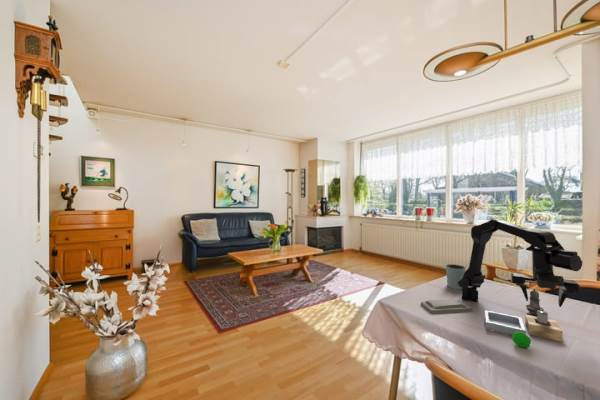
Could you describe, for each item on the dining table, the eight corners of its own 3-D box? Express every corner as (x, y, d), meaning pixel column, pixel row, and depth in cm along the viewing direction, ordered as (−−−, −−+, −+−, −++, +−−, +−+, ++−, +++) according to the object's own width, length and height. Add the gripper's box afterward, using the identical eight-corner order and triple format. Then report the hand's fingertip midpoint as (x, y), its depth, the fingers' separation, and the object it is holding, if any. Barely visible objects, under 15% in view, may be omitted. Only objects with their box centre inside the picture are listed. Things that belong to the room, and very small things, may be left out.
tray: (485, 329, 99) (485, 321, 99) (484, 316, 109) (484, 310, 109) (525, 338, 92) (525, 330, 92) (521, 324, 102) (521, 317, 102)
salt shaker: (547, 319, 106) (547, 291, 105) (531, 318, 107) (531, 291, 107) (537, 312, 111) (537, 286, 111) (522, 312, 112) (522, 286, 112)
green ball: (521, 342, 90) (521, 329, 90) (535, 350, 85) (534, 336, 85) (508, 342, 90) (508, 329, 90) (521, 351, 85) (521, 337, 85)
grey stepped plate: (473, 313, 114) (473, 305, 114) (432, 315, 113) (432, 307, 113) (457, 303, 124) (457, 296, 124) (419, 305, 123) (419, 298, 123)
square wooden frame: (529, 334, 95) (529, 323, 95) (525, 324, 102) (525, 314, 102) (562, 341, 90) (562, 331, 90) (555, 330, 97) (555, 320, 97)
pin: (538, 332, 96) (537, 312, 96) (536, 329, 98) (536, 309, 98) (548, 335, 94) (548, 314, 94) (546, 331, 96) (546, 311, 96)
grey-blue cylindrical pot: (450, 289, 141) (449, 268, 141) (442, 283, 151) (442, 263, 151) (469, 290, 139) (469, 269, 139) (460, 283, 149) (460, 264, 149)
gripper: (513, 265, 94) (514, 305, 95) (585, 273, 84) (586, 318, 84) (510, 259, 103) (510, 295, 104) (574, 265, 93) (575, 306, 93)
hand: (543, 303), depth 96 cm, fingers open, 9 cm apart
